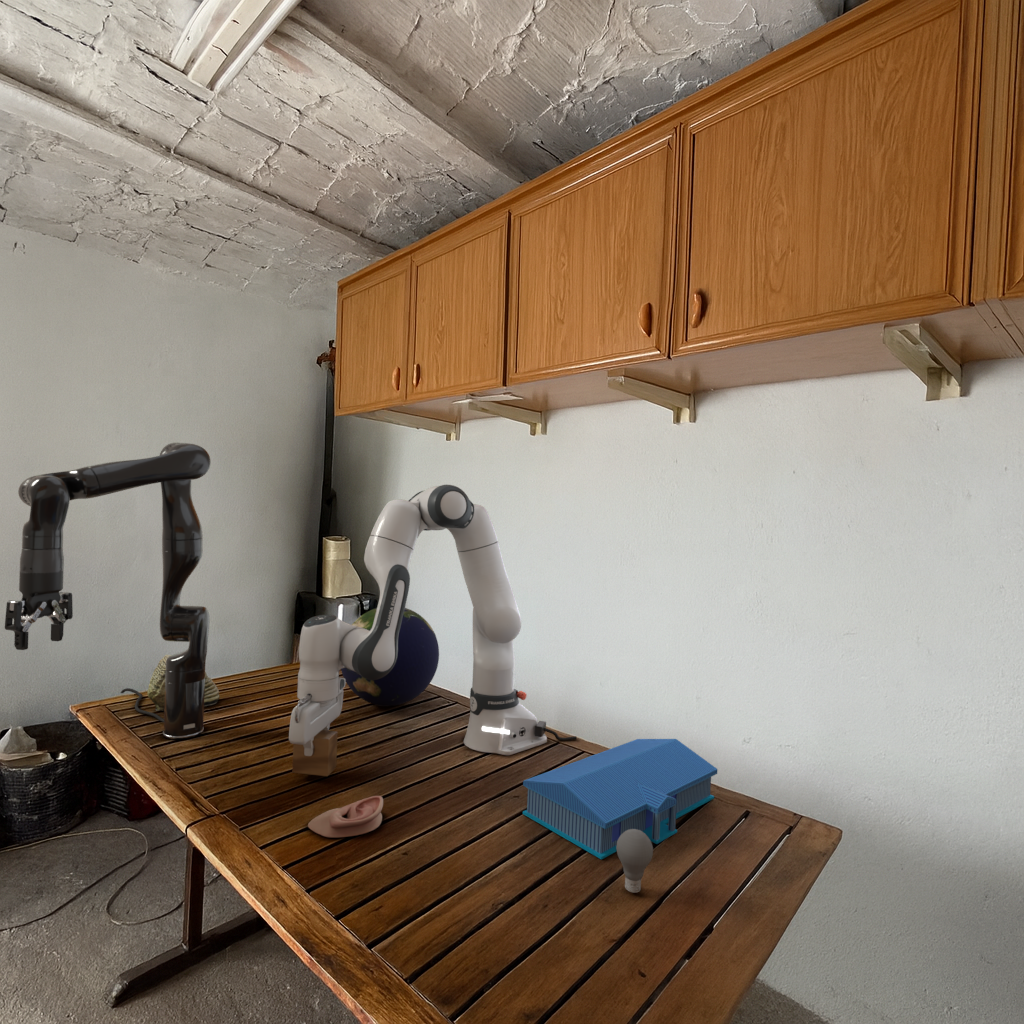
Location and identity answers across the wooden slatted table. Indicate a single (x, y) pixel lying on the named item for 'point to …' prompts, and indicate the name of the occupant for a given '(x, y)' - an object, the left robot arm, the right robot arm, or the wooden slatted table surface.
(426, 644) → the globe
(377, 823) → the anatomical model
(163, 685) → the fossil
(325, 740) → the block
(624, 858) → the light bulb
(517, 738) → the right robot arm
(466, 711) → the wooden slatted table surface
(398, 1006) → the wooden slatted table surface
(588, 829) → the model building
